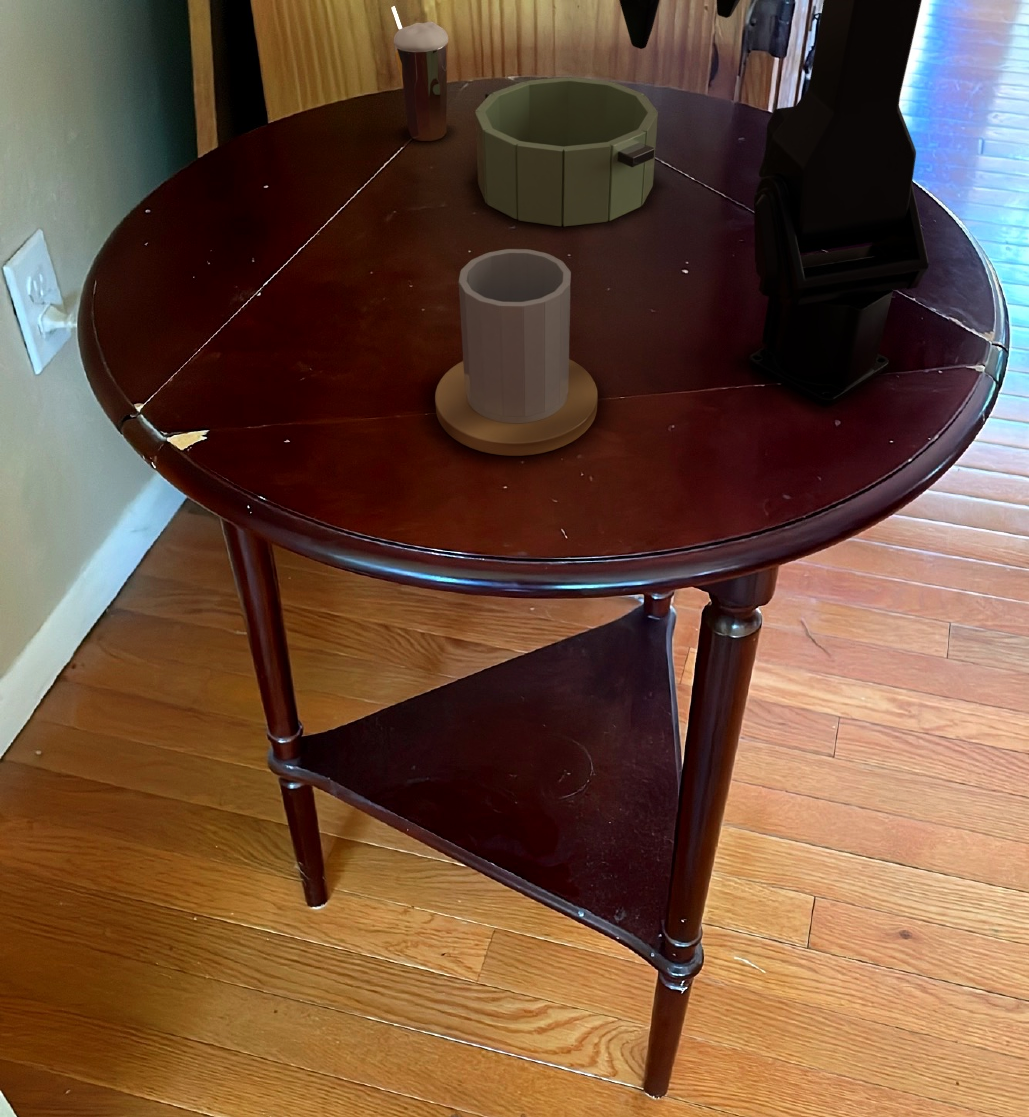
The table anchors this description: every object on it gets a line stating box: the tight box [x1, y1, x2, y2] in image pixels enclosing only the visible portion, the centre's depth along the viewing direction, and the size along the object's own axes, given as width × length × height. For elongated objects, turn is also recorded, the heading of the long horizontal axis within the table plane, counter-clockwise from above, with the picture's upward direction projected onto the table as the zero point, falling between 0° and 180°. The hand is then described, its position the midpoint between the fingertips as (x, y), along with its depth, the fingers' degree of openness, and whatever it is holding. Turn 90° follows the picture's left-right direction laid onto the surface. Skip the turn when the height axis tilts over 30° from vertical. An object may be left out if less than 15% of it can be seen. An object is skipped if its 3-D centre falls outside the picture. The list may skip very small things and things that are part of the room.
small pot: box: [458, 248, 572, 423], centre depth 66 cm, size 6×6×8 cm
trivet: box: [434, 358, 599, 457], centre depth 69 cm, size 10×10×1 cm
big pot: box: [474, 76, 659, 227], centre depth 89 cm, size 17×14×6 cm
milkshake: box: [390, 5, 449, 142], centre depth 96 cm, size 4×5×10 cm
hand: (682, 31), depth 83 cm, fingers open, 9 cm apart
